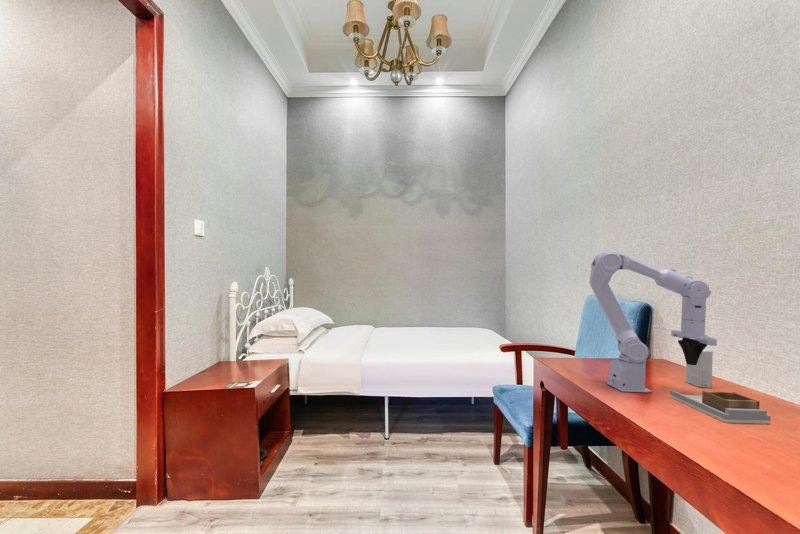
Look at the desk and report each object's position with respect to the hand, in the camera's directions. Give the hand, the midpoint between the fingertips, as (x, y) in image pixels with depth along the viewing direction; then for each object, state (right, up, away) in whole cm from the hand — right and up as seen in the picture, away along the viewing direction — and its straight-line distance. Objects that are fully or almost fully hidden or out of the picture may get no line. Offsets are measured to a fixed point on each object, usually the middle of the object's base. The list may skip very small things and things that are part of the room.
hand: (691, 364), depth 112 cm
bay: (-2, -9, -11) cm, 15 cm away
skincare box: (+11, -10, +11) cm, 19 cm away
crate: (-2, -8, -15) cm, 17 cm away
